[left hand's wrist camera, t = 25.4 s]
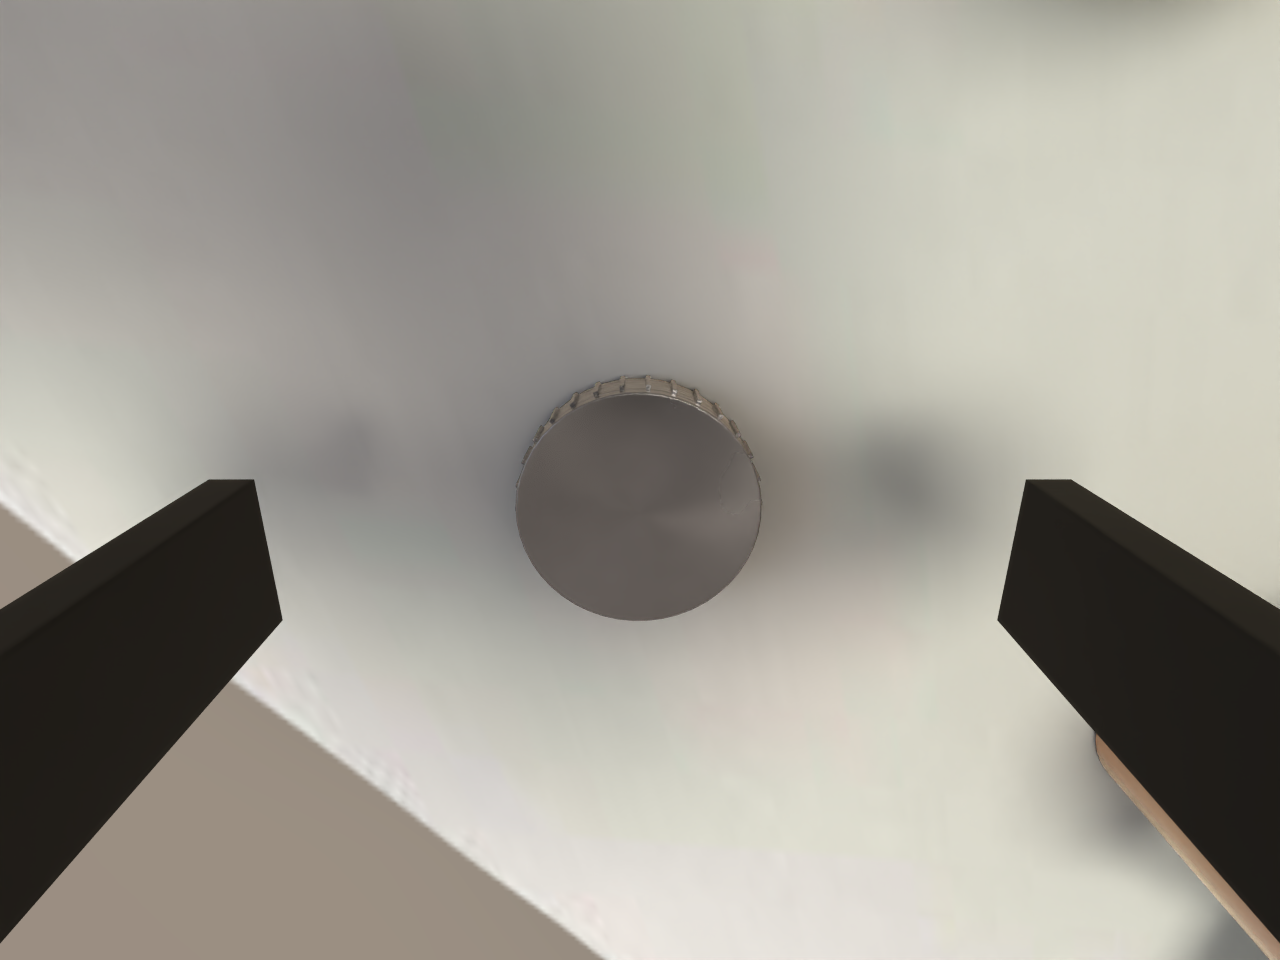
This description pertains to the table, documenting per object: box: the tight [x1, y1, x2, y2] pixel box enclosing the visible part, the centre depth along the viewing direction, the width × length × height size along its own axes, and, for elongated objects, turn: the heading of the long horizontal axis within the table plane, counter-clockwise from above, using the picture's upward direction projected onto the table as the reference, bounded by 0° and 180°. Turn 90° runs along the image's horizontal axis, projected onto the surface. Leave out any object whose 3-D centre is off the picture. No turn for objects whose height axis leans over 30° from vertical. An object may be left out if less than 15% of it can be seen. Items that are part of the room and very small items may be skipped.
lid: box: [515, 375, 762, 621], centre depth 17 cm, size 6×6×2 cm
